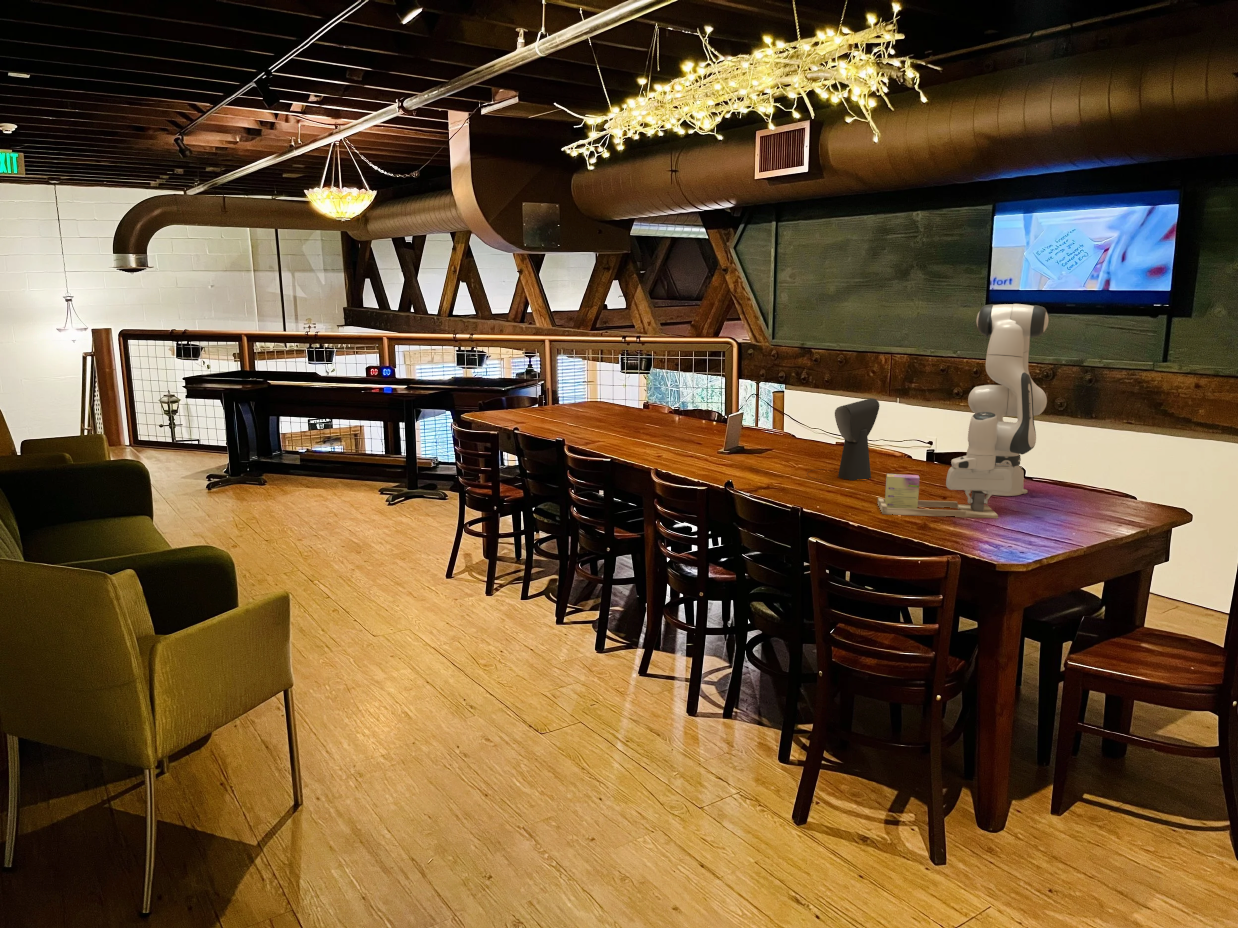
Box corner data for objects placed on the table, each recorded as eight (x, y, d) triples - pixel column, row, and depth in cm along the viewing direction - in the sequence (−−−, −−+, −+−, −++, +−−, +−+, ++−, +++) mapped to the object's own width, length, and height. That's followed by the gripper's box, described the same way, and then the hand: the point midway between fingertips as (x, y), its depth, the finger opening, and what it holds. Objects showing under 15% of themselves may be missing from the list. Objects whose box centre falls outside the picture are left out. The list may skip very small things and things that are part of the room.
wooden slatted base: (877, 504, 305) (878, 484, 304) (987, 508, 299) (989, 488, 298) (882, 514, 291) (883, 493, 290) (997, 518, 285) (999, 497, 284)
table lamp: (886, 491, 326) (890, 410, 320) (808, 488, 331) (811, 408, 325) (875, 470, 364) (879, 398, 359) (805, 468, 369) (808, 396, 364)
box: (916, 508, 299) (918, 474, 296) (917, 512, 293) (919, 477, 291) (884, 507, 301) (886, 473, 299) (884, 511, 296) (886, 476, 294)
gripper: (1011, 461, 291) (1008, 502, 294) (946, 459, 295) (943, 500, 297) (1016, 465, 285) (1013, 506, 288) (950, 463, 289) (947, 504, 291)
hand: (977, 503), depth 292 cm, fingers open, 3 cm apart
